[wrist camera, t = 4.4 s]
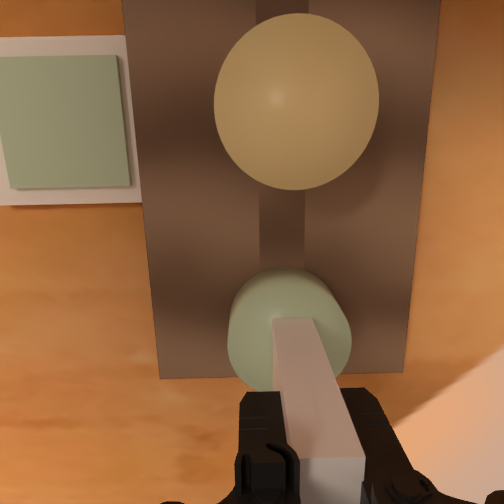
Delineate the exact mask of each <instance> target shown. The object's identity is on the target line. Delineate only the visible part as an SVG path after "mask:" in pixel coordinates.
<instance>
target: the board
mask: <svg viewBox="0 0 504 504" xmlns="http://www.w3.org/2000/svg"><path fill="white" fill-rule="evenodd" d="M440 4H441V0H122V9H123V19H124V28H125V38H126V48H127V58H128V68H129V78H130V88H131V98H132V108H133V118H134V128H135V138H136V147H137V157H138V167H139V177H140V187H141V197H142V207H143V217H144V227H145V237H146V247H147V257H148V266H149V276H150V286H151V296H152V306H153V316H154V326H155V336H156V346H157V356H158V366H159V376H160V379H186V378H222V377H239V376H238V375H237V374H236V372H235V371H234V369H233V367H232V365H231V362H230V359H229V356H228V349H227V342H228V330H229V319H230V311H231V306H232V303H233V300H234V298H235V296H236V294H237V292H238V291H239V289H240V288H241V287H242V286H243V285H244V284H245V283H246V282H247V281H248V280H249V279H250V278H252V277H253V276H255V275H256V274H259V273H261V272H263V271H265V270H268V269H272V268H278V267H292V268H298V269H301V270H305V271H307V272H309V273H311V274H313V275H315V276H316V277H318V278H319V279H320V280H321V281H323V282H324V284H325V285H326V286H327V287H328V288H329V290H330V291H331V293H332V295H333V296H334V298H335V300H336V301H337V303H338V305H339V307H340V308H341V310H342V312H343V313H344V315H345V317H346V319H347V321H348V324H349V327H350V330H351V337H352V345H351V352H350V355H349V359H348V361H347V363H346V365H345V367H344V369H343V370H342V372H341V373H340V374H366V373H402V372H403V367H404V357H405V348H406V338H407V328H408V318H409V308H410V298H411V289H412V279H413V269H414V259H415V249H416V239H417V230H418V220H419V210H420V200H421V190H422V181H423V171H424V161H425V151H426V141H427V131H428V122H429V112H430V102H431V92H432V82H433V72H434V63H435V53H436V43H437V33H438V23H439V13H440ZM294 13H304V14H313V15H317V16H321V17H324V18H327V19H329V20H332V21H334V22H335V23H337V24H339V25H341V26H342V27H343V28H345V29H346V30H347V31H349V32H350V33H351V34H352V35H353V36H354V37H355V38H356V39H357V40H358V41H359V43H360V44H361V45H362V47H363V48H364V49H365V51H366V53H367V54H368V56H369V58H370V60H371V62H372V65H373V68H374V70H375V74H376V78H377V82H378V90H379V108H378V116H377V120H376V124H375V128H374V131H373V133H372V136H371V139H370V140H369V142H368V144H367V146H366V148H365V150H364V151H363V152H362V154H361V155H360V157H359V158H358V159H357V160H356V161H355V163H354V164H353V165H352V166H351V167H350V168H348V169H347V170H346V171H345V172H344V173H343V174H341V175H340V176H338V177H337V178H335V179H333V180H331V181H329V182H328V183H326V184H323V185H320V186H317V187H314V188H309V189H303V190H284V189H279V188H274V187H271V186H268V185H265V184H263V183H261V182H259V181H257V180H255V179H254V178H252V177H250V176H249V175H247V174H246V173H245V172H244V171H243V170H242V169H240V168H239V167H238V165H237V164H236V163H235V162H234V161H233V160H232V158H231V157H230V155H229V154H228V153H227V151H226V149H225V147H224V145H223V143H222V141H221V139H220V136H219V133H218V130H217V126H216V122H215V114H214V94H215V87H216V82H217V79H218V75H219V72H220V70H221V67H222V65H223V63H224V61H225V59H226V57H227V55H228V54H229V52H230V51H231V49H232V48H233V47H234V45H235V44H236V43H237V42H238V41H239V40H240V39H241V38H242V37H243V36H244V35H245V34H246V33H247V32H248V31H250V30H251V29H252V28H253V27H255V26H257V25H259V24H260V23H262V22H264V21H266V20H269V19H271V18H273V17H277V16H281V15H285V14H294Z"/></svg>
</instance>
